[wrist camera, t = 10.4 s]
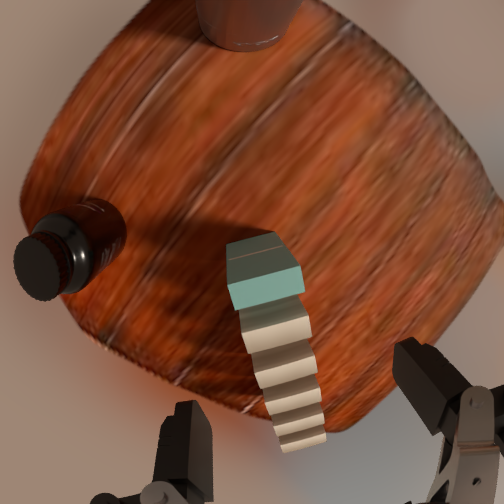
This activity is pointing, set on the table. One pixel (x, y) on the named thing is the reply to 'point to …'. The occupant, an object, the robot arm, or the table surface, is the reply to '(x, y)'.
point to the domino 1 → (261, 271)
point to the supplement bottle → (69, 249)
